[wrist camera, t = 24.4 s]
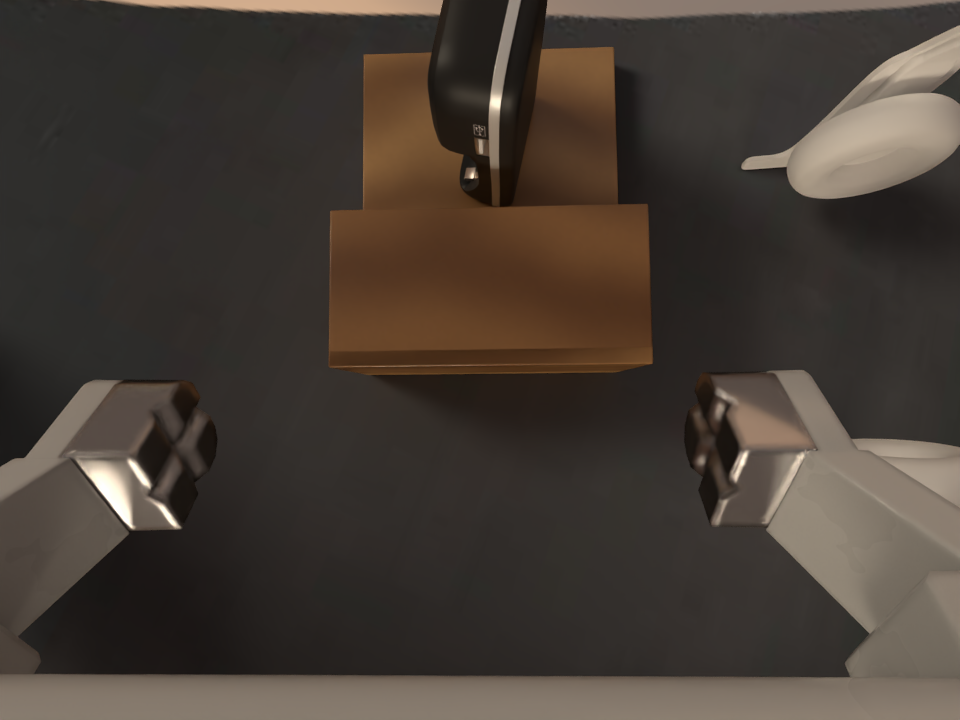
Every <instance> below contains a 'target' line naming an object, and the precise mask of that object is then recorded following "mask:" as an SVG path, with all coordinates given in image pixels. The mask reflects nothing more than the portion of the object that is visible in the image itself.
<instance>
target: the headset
mask: <svg viewBox="0 0 960 720" xmlns="http://www.w3.org/2000/svg"><path fill="white" fill-rule="evenodd" d="M958 69H960V25H959V26H957V27H955V28H953V29H951V30H949V31H947V32H944V33H942V34H940V35H938V36H936V37H934V38H932V39H930V40H928V41H926V42H924V43H922V44H920V45H918V46H916V47H914V48H912V49H910V50H908V51H905V52H903V53H900V54H898V55H896V56H894V57H892V58H890V59H889V60H887V61H886V62H884V63H883V64H881V65H880V66H879V67H878V68H876V69H875V70H874V71H873V72H872V73H870V74H869V75H868V76H867V77H866V78H865V79H864V80H863V81H862V82H861V83H860V84H859V85H858V86H857V87H856V88H854V89H853V90H852V91H851V92H850V93H849V94H848V95H847V96H846V97H845V98H844V99H843V100H842V101H841V102H840V103H839V104H838V105H837V106H836V107H835V108H834V109H833V110H832V111H831V112H830V113H829V114H828V115H827V116H826V117H825V118H824V119H823V120H822V121H821V122H820V123H819V124H818V125H817V126H816V127H815V128H814V129H813V130H812V131H811V132H810V133H808V134H807V135H806V136H805V137H804V138H803V139H802V140H801V141H799V142H798V143H797V144H796V145H794V146H793V147H791V148H790V149H788V150H786V151H784V152H782V153H779V154H775V155H766V156H755V157H750V158H747V159H746V160H745V161H744V162H743V163H742V165H741V167H742V169H743V170H751V169H764V168H777V167H787V176H788V180H789V182H790V184H791V186H792V187H793V188H794V189H795V190H796V191H797V192H798V193H800V194H802V195H804V196H807V197H812V198H818V199H834V198H844V197H851V196H857V195H862V194H867V193H871V192H875V191H878V190H882V189H885V188H888V187H891V186H894V185H897V184H900V183H902V182H905V181H907V180H910V179H912V178H914V177H916V176H919V175H921V174H923V173H925V172H927V171H928V170H930V169H932V168H934V167H935V166H937V165H938V164H940V163H941V162H942V161H944V160H945V159H946V158H948V157H949V156H950V155H951V154H952V153H953V152H954V151H955V150H956V149H957V147H958V146H959V145H960V104H959V103H957V102H956V101H955V100H953V99H952V98H949V97H947V96H944V95H941V94H935V93H930V92H932V91H933V90H934V89H936V88H937V87H938V86H939V85H941V84H942V83H943V82H944V81H946V80H947V79H948V78H949V77H950V76H952V75H953V74H954V73H955V72H956V71H957V70H958ZM852 441H853V442H854V444H855V446H856V447H857V449H858V450H869V451H871V452H873V453H874V454H876V455H877V456H879V457H880V458H882V459H884V460H885V461H887V462H888V463H890V464H891V465H893V466H895V467H896V468H898V469H899V470H901V471H903V472H904V473H906V474H907V475H909V476H910V477H912V478H914V479H915V480H917V481H918V482H920V483H922V484H923V485H925V486H926V487H928V488H929V489H931V490H933V491H934V492H936V493H937V494H939V495H941V496H942V497H944V498H945V499H947V500H948V501H950V502H952V503H953V504H955V505H956V506H958V507H959V508H960V447H955V446H950V445H944V444H938V443H930V442H921V441H910V440H895V439H852Z"/></svg>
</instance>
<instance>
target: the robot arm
mask: <svg viewBox="0 0 960 720" xmlns="http://www.w3.org/2000/svg"><path fill="white" fill-rule="evenodd" d="M695 394H696V396H697V399H698V402H699V403H698V404H696V405H695V406H694V407H692V408H691V409H690V410H689V411H688V415H687V418H686V422H685V438H684V442H685V448H686V454H687V457H688V460H689V463H690V467H691V468H692V469H694V470H695V471H696V472H697V473H698V474H700V475H701V476H702V477H703V478H702V481H701V484H700V487H699V490H698V491H699V494H700V497H701V499H702V502H703V505H704V508H705V511H706V514H707V517H708V520H709V523H710V526H715V527H763V528H767V531H768V532H769V533H770V534H771V535H772V536H773V537H774V538H775V539H776V540H777V541H778V542H779V543H780V544H781V545H782V546H783V547H784V548H785V549H786V550H787V551H788V552H789V553H790V554H791V555H792V556H793V557H794V558H795V559H796V560H797V561H798V562H799V563H800V564H801V565H802V566H803V567H804V568H805V569H806V570H807V571H808V572H809V573H810V574H811V575H812V576H813V577H814V578H815V579H816V580H817V581H818V582H819V583H820V584H821V585H822V586H823V587H824V588H825V589H826V590H827V591H828V592H829V593H830V594H831V595H832V596H833V597H834V598H835V599H836V600H837V601H838V602H839V603H840V604H841V605H842V606H843V607H844V608H845V609H846V610H847V611H848V612H849V613H850V614H851V615H852V616H853V617H854V618H855V619H856V620H857V621H858V622H859V623H860V624H861V625H862V626H863V627H864V628H865V629H866V630H867V631H868V632H869V633H870V634H869V635H868V636H867V637H866V638H865V639H864V640H863V642H862V643H861V644H860V645H859V646H858V647H857V648H856V649H855V650H854V651H853V652H852V653H851V654H850V656H849V657H848V659H847V660H846V662H845V665H846V668H847V670H848V672H849V674H850V677H666V676H432V675H188V674H34V673H35V671H36V669H37V668H38V666H39V664H40V662H41V660H40V656H39V653H38V652H37V651H36V650H34V649H33V648H32V647H30V646H29V645H28V644H26V643H25V642H24V641H22V640H21V639H20V638H18V636H19V635H20V634H21V633H22V632H23V631H24V630H25V629H26V628H27V627H29V626H30V625H31V624H32V623H33V622H34V621H35V620H36V619H37V618H38V617H39V616H40V615H42V614H43V613H44V612H45V611H46V610H47V609H48V608H49V607H50V606H51V605H52V604H53V603H55V602H56V601H57V600H58V599H59V598H60V597H61V596H62V595H63V594H64V593H65V592H67V591H68V590H69V589H70V588H71V587H72V586H73V585H74V584H75V583H76V582H77V581H78V580H80V579H81V578H82V577H83V576H84V575H85V574H86V573H87V572H88V571H89V570H90V569H91V568H93V567H94V566H95V565H96V564H97V563H98V562H99V561H100V560H101V559H102V558H103V557H104V556H106V555H107V554H108V553H109V552H110V551H111V550H112V549H113V548H114V547H115V546H116V545H118V544H119V543H120V542H121V541H122V540H123V539H124V538H125V537H126V536H127V535H128V534H129V532H128V531H136V530H167V529H182V527H183V525H184V523H185V521H186V519H187V517H188V515H189V513H190V510H191V508H192V506H193V504H194V502H195V500H196V498H197V496H198V491H197V488H196V486H195V483H194V482H196V481H197V480H198V479H200V478H201V477H202V476H203V475H205V474H206V473H207V472H209V470H210V468H211V465H212V463H213V461H214V459H215V456H216V448H217V440H218V439H217V434H216V429H215V425H214V423H213V421H212V419H211V417H210V416H209V415H207V414H206V413H204V412H203V411H201V410H200V409H199V408H197V407H196V406H197V404H198V402H199V399H200V396H199V394H198V392H197V390H196V389H195V387H194V385H193V383H191V382H188V381H184V380H93V381H91V382H89V383H86V384H84V385H83V386H82V387H81V389H80V390H79V391H78V392H77V394H76V395H75V396H74V397H73V399H72V400H71V401H70V402H69V404H68V405H67V406H66V407H65V409H64V410H63V411H62V412H61V414H60V415H59V416H58V417H57V418H56V420H55V421H54V422H53V423H52V425H51V426H50V427H49V428H48V430H47V431H46V432H45V433H44V435H43V436H42V437H41V438H40V440H39V441H38V442H37V443H36V445H35V446H34V447H33V448H32V450H31V451H30V452H29V453H28V455H27V456H26V457H25V458H15V459H13V460H11V461H9V462H8V463H6V464H4V465H3V466H1V467H0V720H960V508H959V507H958V506H956V505H955V504H953V503H952V502H950V501H948V500H947V499H945V498H944V497H942V496H941V495H939V494H937V493H936V492H934V491H933V490H931V489H929V488H928V487H926V486H925V485H923V484H922V483H920V482H918V481H917V480H915V479H914V478H912V477H910V476H909V475H907V474H906V473H904V472H903V471H901V470H899V469H898V468H896V467H895V466H893V465H891V464H890V463H888V462H887V461H885V460H884V459H882V458H880V457H879V456H877V455H876V454H874V453H873V452H871V451H869V450H858V449H857V447H856V446H855V444H854V442H853V441H852V439H851V438H850V436H849V435H848V433H847V431H846V430H845V428H844V427H843V425H842V424H841V422H840V421H839V419H838V417H837V416H836V414H835V413H834V411H833V410H832V408H831V407H830V405H829V403H828V402H827V400H826V399H825V397H824V396H823V394H822V393H821V391H820V389H819V388H818V386H817V385H816V383H815V382H814V380H813V378H812V377H811V375H810V374H808V373H807V372H805V371H804V370H780V371H768V372H766V371H755V372H709V373H702V375H701V376H700V377H699V379H698V381H697V384H696V388H695Z"/></svg>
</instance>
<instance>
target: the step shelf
mask: <svg viewBox="0 0 960 720" xmlns="http://www.w3.org/2000/svg"><path fill="white" fill-rule="evenodd" d="M430 58H431V53H405V54H373V55H364V117H363V210H336V211H331V212H330V290H329V367H330V368H335V369H340V370H345V371H351V372H356V373H362V374H367V375H410V374H500V373H589V372H619V371H623V370H628V369H632V368H636V367H640V366H645V365H649V364H652V363H653V346H652V313H651V281H650V249H649V216H648V204H618V179H617V143H616V106H615V69H614V47H599V48H566V49H541V56H540V64H539V72H538V80H537V89H536V97H535V103H534V107H533V112H532V117H531V122H530V126H529V131H528V136H527V140H526V145H525V150H524V154H523V159H522V164H521V168H520V173H519V178H518V182H517V187H516V192H515V196H514V200H513V203H512V204H511V205H510V206H501V205H500V207H497V206H492V204H491V203H486V202H481V201H479V200H476V199H474V198H472V197H470V196H469V195H467V194H466V193H465V192H464V191H463V189H462V188H461V185H460V179H459V177H460V169H461V164H462V160H463V155H462V154H458V153H455V152H452V151H449V150H447V149H446V148H444V147H443V146H441V144H440V142H439V140H438V138H437V135H436V132H435V129H434V125H433V120H432V115H431V109H430V102H429V94H428V69H429V63H430Z"/></svg>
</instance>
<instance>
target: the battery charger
mask: <svg viewBox="0 0 960 720" xmlns="http://www.w3.org/2000/svg"><path fill="white" fill-rule="evenodd" d="M546 8H547V0H443V4H442V8H441V13H440V17H439V22H438V26H437V31H436V35H435V40H434V44H433V49H432V53H431V58H430V63H429V69H428V94H429V102H430V109H431V115H432V120H433V125H434V129H435V132H436V135H437V138H438V140H439V142H440V144H441V146H443V147H444V148H446V149H447V150H449V151H452V152H455V153H458V154H462V155H463V160H462V164H461V169H460V177H459V179H460V185H461V188H462V189H463V191H464V192H465V193H466V194H467V195H469V196H470V197H472V198H474V199H476V200H479V201H481V202H486V203H491V204H492V206H497V207H500V205H501V206H510V205H511V204H512V203H513V200H514V196H515V192H516V187H517V182H518V178H519V173H520V168H521V164H522V159H523V154H524V150H525V145H526V140H527V136H528V131H529V126H530V122H531V117H532V112H533V107H534V103H535V97H536V89H537V80H538V72H539V64H540V56H541V48H542V40H543V33H544V25H545V16H546Z"/></svg>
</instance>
